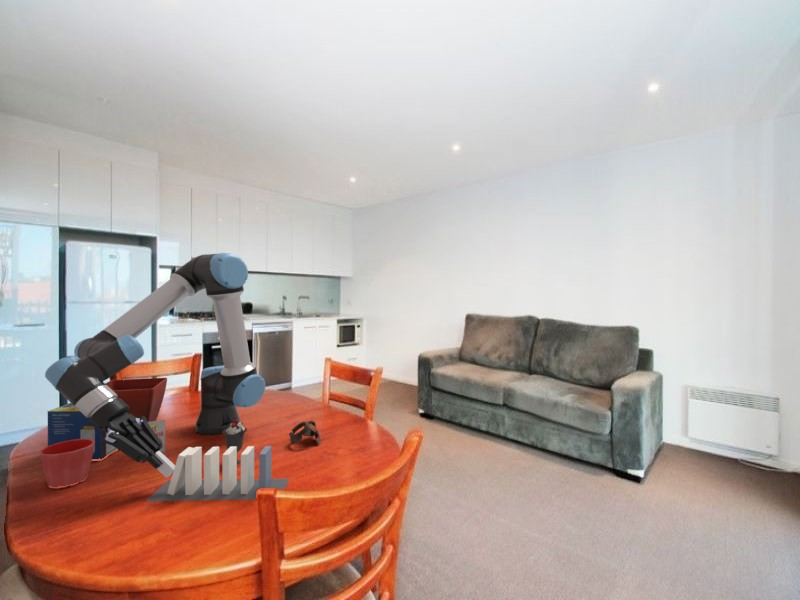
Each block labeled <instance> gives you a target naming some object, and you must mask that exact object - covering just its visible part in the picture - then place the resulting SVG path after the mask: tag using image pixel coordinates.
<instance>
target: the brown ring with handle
mask: <svg viewBox="0 0 800 600" xmlns="http://www.w3.org/2000/svg"><path fill="white" fill-rule="evenodd" d="M301 428H302V429H301ZM297 431H298V432H297ZM288 436H289V438H290V439H289V441H290V442H289V443H291V444H294V443H297V442H303V436H304V437H311V438H313V437H315V443H316V445H317V446H320V445H321V442H322V439H321V436H320V433H319V431H318V429H317V424H316V422H315V421H314V420H309V421H307V420H306V421H302V422H299V423H298V424H297V425H295V426H294V427H293V428H292V429H291V431H290V432H289V433H288Z"/></svg>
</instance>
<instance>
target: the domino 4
mask: <svg viewBox="0 0 800 600" xmlns="http://www.w3.org/2000/svg"><path fill="white" fill-rule="evenodd" d="M221 458H222V461H221V462H222V477H221V478H222V479H221V480H222V494H230V492H231V491H232V490H233V488H234V487H235V486H236V484H237V479H238V474H237V473H238V469H237V468H238V465H237V459H238V453H237V446H231V447H230V448H229V449H228V450H227V449H226V450H225V452H224V453H223V454H222V457H221Z"/></svg>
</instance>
